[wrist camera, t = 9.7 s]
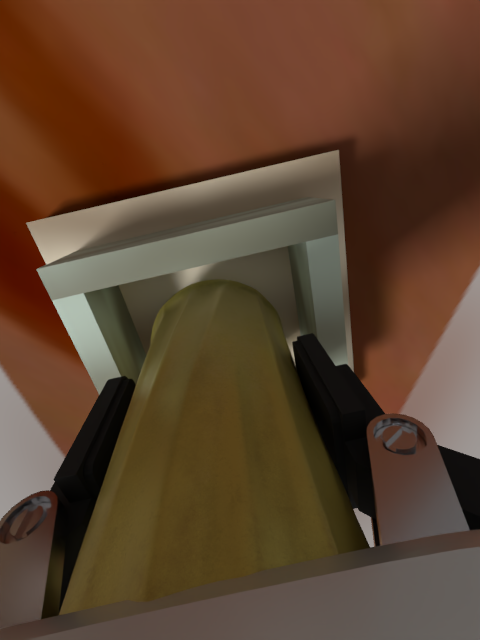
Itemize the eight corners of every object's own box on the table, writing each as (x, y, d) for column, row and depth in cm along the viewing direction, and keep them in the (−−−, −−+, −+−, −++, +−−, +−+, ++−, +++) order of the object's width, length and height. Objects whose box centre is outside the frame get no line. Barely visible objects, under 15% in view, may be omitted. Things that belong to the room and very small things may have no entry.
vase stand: (43, 219, 15) (-33, 234, 10) (326, 153, 14) (379, 137, 10) (142, 433, 20) (121, 504, 16) (346, 387, 20) (385, 445, 16)
